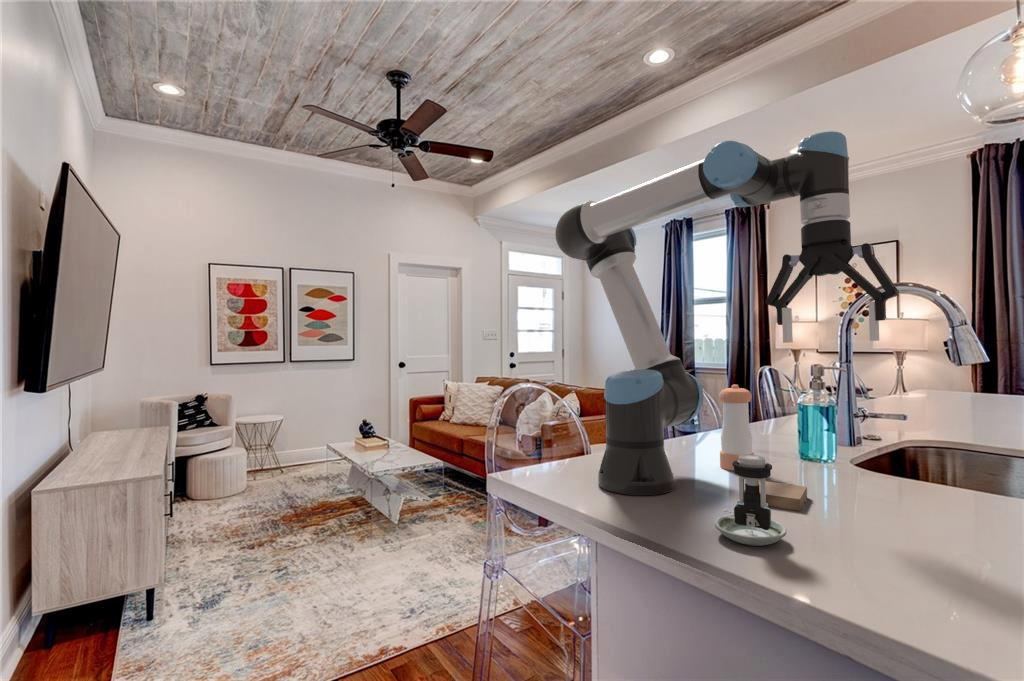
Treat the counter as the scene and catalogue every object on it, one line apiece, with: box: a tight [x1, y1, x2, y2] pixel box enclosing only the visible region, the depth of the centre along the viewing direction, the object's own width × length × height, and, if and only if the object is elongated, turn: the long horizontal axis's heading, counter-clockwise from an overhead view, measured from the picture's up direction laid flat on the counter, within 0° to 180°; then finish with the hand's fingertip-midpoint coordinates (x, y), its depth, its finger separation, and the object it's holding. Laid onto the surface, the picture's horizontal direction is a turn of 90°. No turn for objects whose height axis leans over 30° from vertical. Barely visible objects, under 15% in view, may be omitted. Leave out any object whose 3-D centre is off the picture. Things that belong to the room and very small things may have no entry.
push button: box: [723, 454, 773, 530], centre depth 76 cm, size 7×5×10 cm
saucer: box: [714, 514, 787, 547], centre depth 75 cm, size 10×10×2 cm
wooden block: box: [744, 480, 808, 512], centre depth 93 cm, size 9×9×2 cm
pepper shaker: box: [718, 384, 755, 472], centre depth 117 cm, size 7×7×19 cm
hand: (828, 341), depth 90 cm, fingers open, 13 cm apart
